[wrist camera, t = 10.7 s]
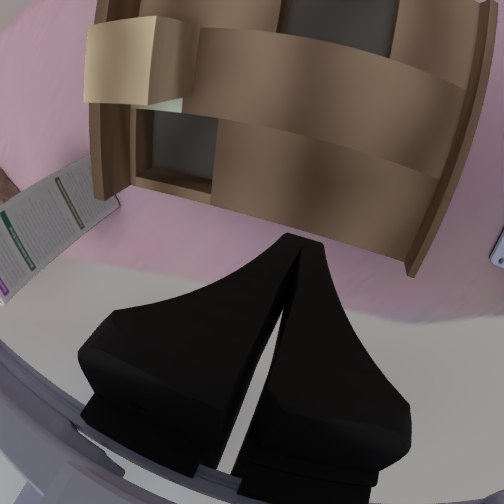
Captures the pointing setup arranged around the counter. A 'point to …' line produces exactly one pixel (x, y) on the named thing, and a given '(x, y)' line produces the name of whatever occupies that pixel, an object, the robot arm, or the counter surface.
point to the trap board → (311, 115)
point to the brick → (6, 188)
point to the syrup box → (46, 223)
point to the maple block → (140, 60)
